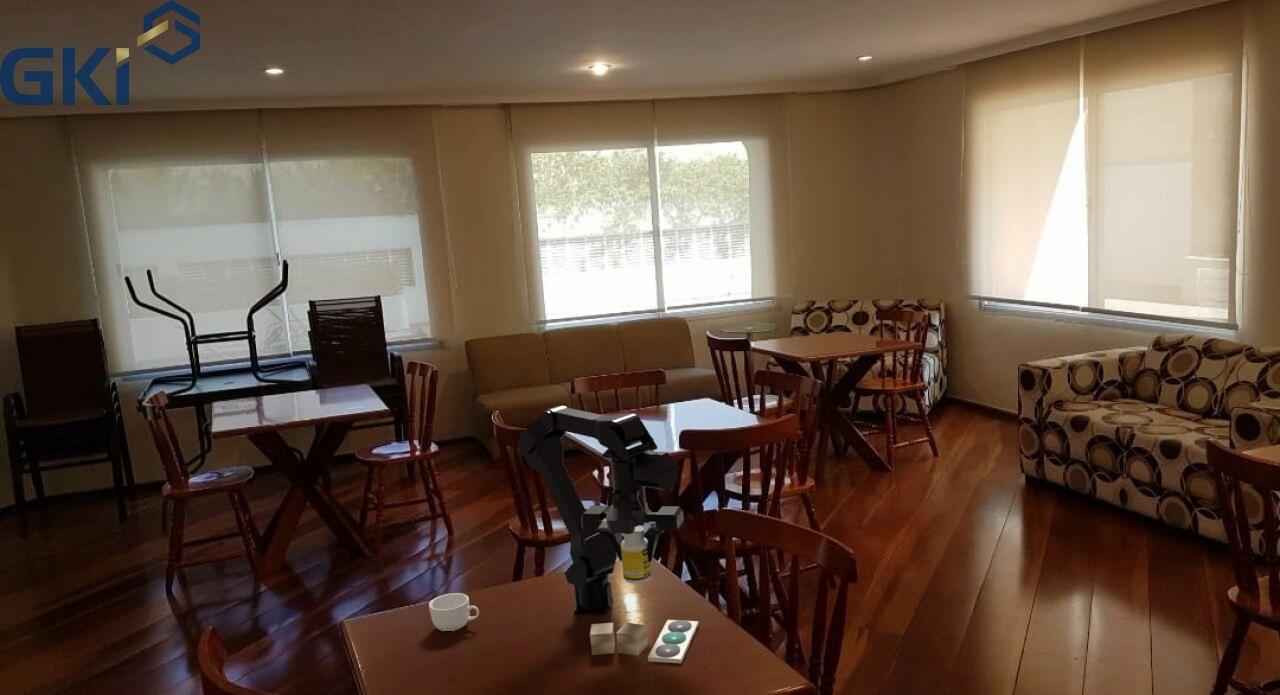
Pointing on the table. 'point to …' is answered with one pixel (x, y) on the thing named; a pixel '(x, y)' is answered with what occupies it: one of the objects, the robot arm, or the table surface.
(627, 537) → the supplement bottle
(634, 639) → the beech block
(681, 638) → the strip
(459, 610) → the teacup
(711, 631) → the table surface
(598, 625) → the beech block
